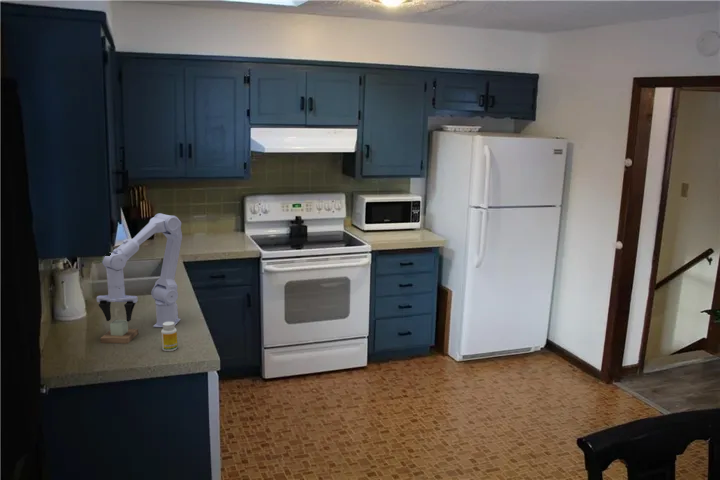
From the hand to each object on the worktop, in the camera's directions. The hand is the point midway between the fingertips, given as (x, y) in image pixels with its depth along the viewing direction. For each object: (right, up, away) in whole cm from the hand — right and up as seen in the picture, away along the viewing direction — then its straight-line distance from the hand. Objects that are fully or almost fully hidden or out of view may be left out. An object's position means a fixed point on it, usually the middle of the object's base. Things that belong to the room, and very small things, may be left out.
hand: (118, 320), depth 231 cm
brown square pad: (0, -7, +2) cm, 8 cm away
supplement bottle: (+22, -9, -8) cm, 25 cm away
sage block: (0, -5, +1) cm, 5 cm away
